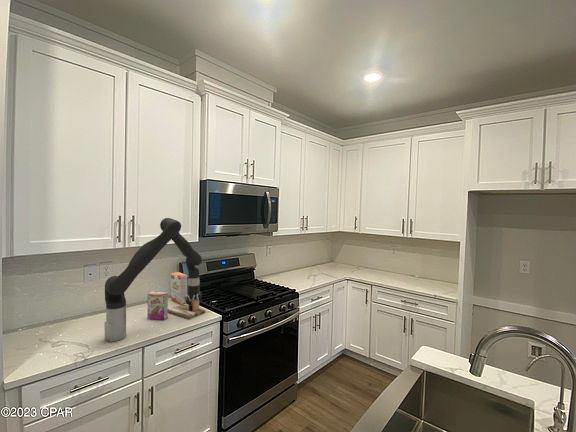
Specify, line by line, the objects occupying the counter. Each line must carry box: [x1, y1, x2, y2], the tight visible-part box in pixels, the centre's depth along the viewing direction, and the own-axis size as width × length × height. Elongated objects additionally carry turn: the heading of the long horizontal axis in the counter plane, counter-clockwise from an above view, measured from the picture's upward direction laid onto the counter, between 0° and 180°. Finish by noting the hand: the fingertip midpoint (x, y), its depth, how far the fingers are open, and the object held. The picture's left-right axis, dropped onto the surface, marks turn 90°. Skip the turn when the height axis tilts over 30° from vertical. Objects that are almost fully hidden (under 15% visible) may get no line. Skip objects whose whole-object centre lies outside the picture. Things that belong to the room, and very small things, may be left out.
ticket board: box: [168, 303, 206, 321], centre depth 192 cm, size 14×22×3 cm, turn 60°
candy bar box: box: [147, 291, 169, 321], centre depth 181 cm, size 11×5×16 cm, turn 84°
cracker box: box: [170, 271, 188, 305], centre depth 212 cm, size 14×6×21 cm, turn 49°
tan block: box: [188, 299, 200, 311], centre depth 194 cm, size 4×6×6 cm, turn 60°
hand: (193, 308), depth 194 cm, fingers closed on tan block, 4 cm apart
